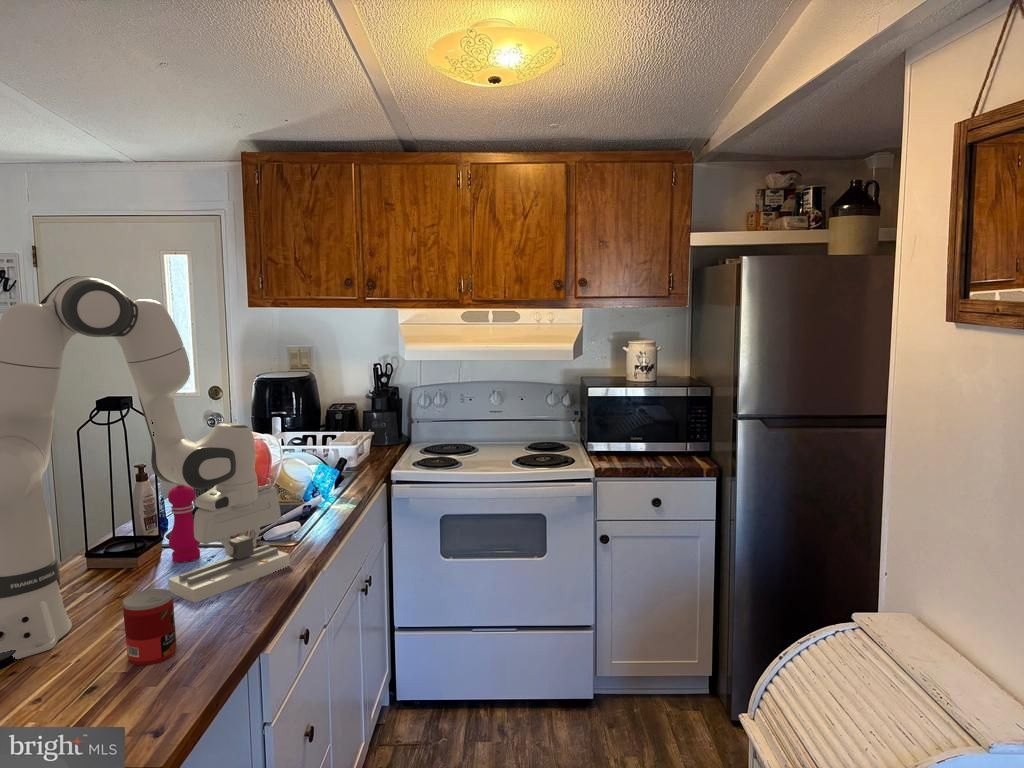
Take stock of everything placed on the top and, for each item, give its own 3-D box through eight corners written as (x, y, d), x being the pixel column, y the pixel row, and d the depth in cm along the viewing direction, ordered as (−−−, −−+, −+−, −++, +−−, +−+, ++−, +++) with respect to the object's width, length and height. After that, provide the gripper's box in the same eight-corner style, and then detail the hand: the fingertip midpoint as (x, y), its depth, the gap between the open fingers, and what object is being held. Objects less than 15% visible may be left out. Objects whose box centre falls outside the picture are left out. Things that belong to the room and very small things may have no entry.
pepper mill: (208, 552, 175) (202, 475, 172) (192, 564, 168) (186, 483, 165) (180, 552, 176) (174, 475, 173) (163, 563, 168) (157, 483, 166)
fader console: (194, 603, 146) (192, 584, 146) (169, 591, 152) (167, 573, 151) (289, 566, 165) (288, 549, 165) (264, 557, 171) (263, 541, 171)
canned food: (173, 662, 123) (168, 603, 121) (122, 669, 120) (117, 609, 119) (180, 641, 130) (176, 585, 128) (133, 648, 128) (128, 591, 126)
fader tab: (238, 566, 158) (237, 543, 157) (229, 562, 160) (227, 539, 159) (254, 560, 161) (252, 537, 160) (244, 557, 163) (243, 534, 162)
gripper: (268, 480, 169) (271, 534, 170) (187, 501, 152) (192, 561, 154) (284, 484, 165) (287, 539, 167) (203, 505, 148) (208, 567, 150)
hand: (241, 550), depth 160 cm, fingers closed on fader tab, 4 cm apart
